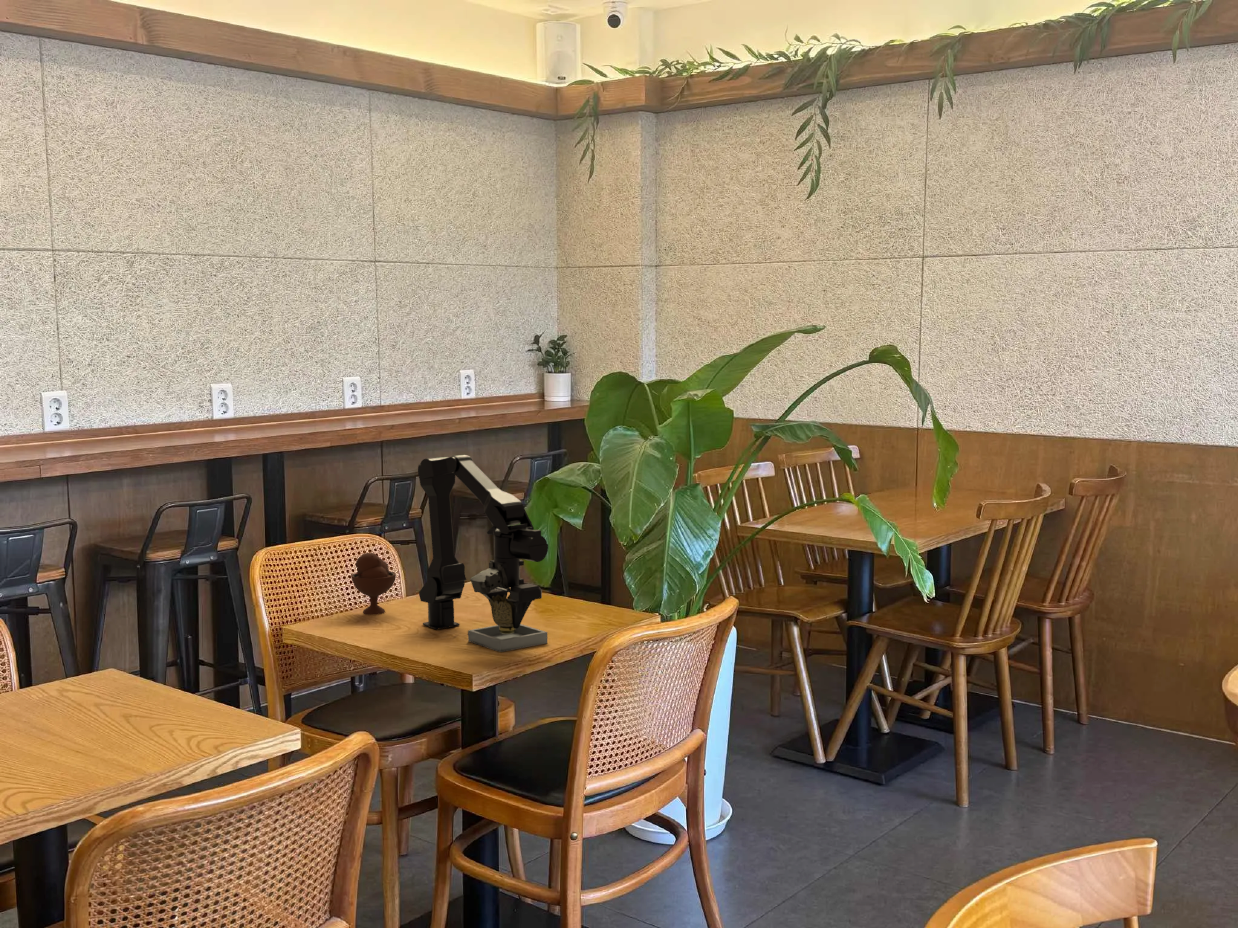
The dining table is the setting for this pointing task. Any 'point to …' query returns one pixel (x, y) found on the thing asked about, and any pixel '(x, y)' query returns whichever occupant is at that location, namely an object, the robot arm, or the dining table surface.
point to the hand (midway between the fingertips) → (507, 625)
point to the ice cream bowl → (372, 580)
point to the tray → (507, 638)
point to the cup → (502, 614)
